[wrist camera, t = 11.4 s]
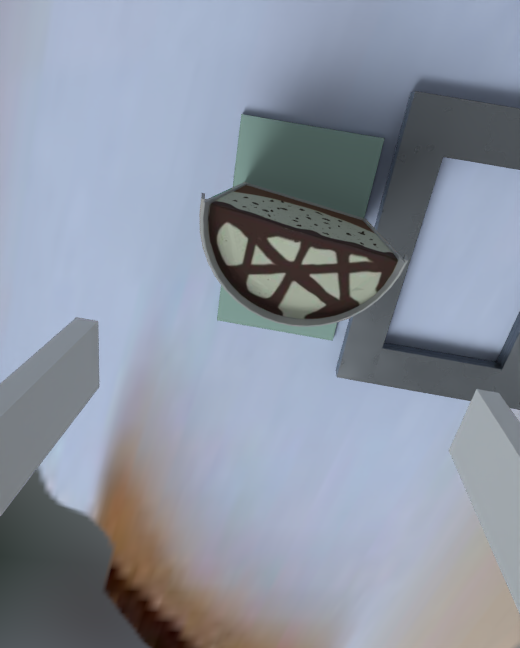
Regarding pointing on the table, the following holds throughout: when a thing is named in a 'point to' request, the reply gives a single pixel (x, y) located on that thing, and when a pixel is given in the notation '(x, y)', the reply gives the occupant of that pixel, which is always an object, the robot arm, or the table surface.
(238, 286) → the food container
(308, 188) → the pad
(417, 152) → the grey rectangular frame
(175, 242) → the table surface
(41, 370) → the robot arm
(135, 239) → the table surface
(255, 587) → the table surface
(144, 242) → the table surface
